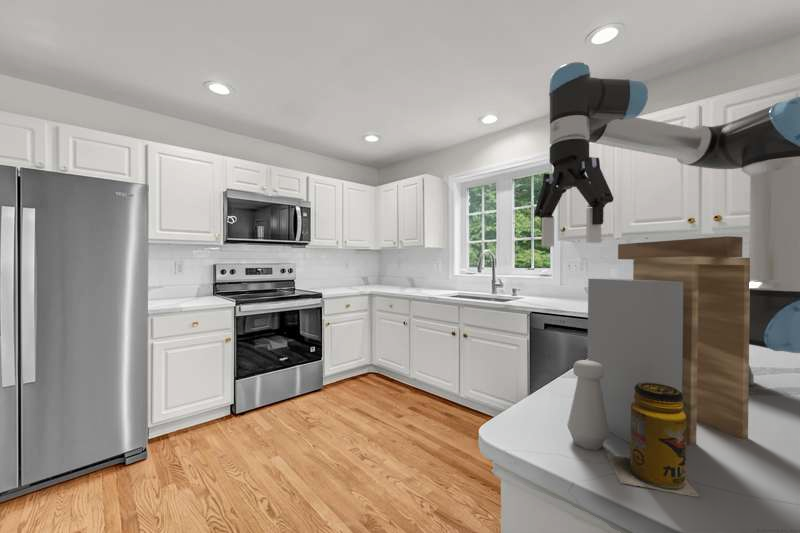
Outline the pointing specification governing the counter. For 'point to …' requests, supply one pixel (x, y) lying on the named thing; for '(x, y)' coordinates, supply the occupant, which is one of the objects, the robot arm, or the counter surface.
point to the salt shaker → (588, 407)
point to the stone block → (634, 340)
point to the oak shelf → (710, 337)
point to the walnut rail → (683, 248)
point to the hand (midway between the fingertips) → (568, 244)
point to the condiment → (656, 441)
